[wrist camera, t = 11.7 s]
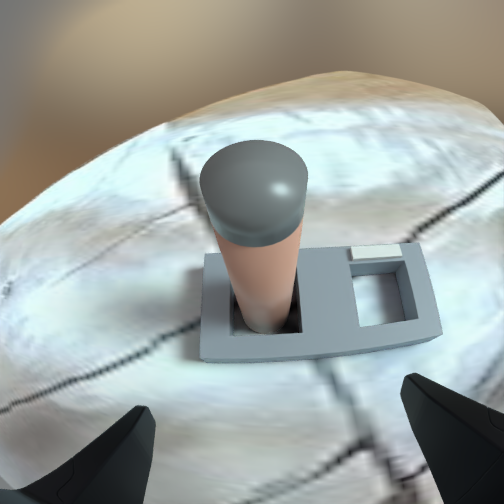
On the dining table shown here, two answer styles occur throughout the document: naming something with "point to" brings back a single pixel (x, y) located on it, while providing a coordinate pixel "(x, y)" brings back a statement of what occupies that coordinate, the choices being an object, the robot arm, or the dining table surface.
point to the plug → (258, 224)
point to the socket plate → (323, 307)
